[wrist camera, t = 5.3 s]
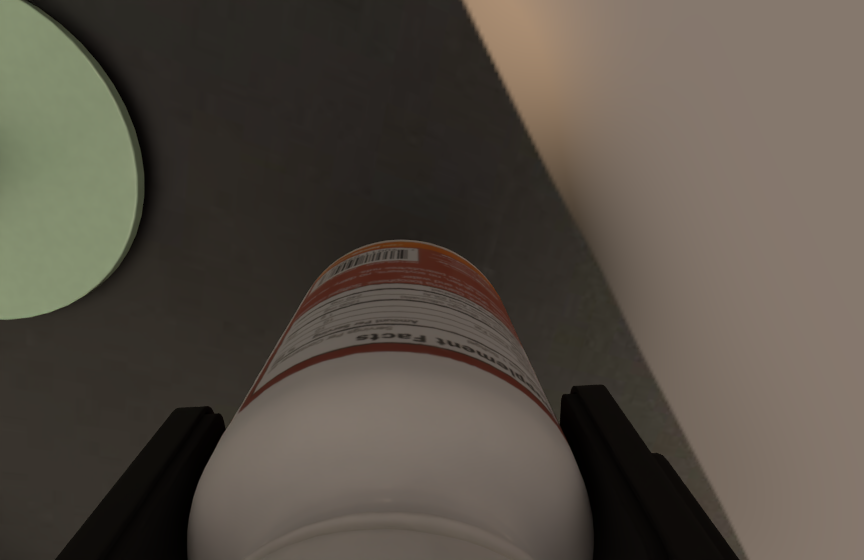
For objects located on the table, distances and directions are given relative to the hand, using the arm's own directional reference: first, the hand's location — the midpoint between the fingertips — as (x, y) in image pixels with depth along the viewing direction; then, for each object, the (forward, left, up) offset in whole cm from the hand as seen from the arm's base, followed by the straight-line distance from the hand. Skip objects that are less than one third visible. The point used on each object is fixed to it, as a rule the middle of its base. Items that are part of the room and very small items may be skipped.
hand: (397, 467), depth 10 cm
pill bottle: (0, 0, -6) cm, 6 cm away
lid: (-6, -16, -13) cm, 21 cm away
